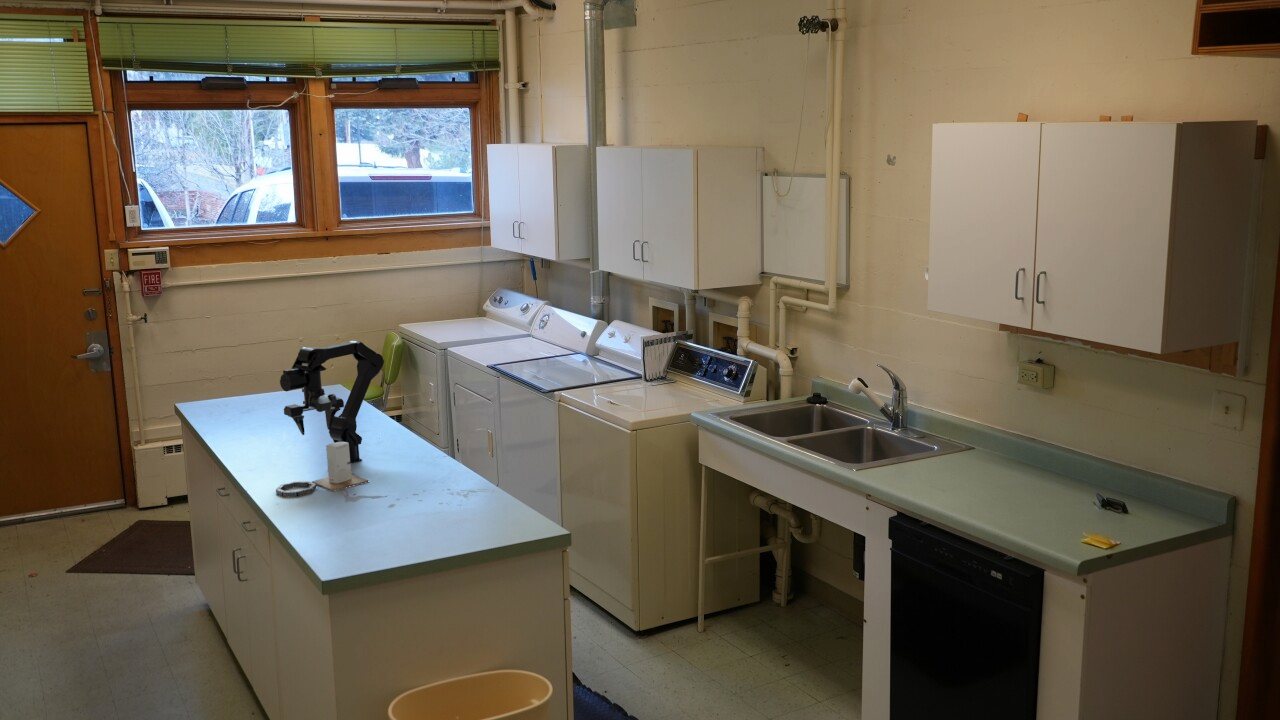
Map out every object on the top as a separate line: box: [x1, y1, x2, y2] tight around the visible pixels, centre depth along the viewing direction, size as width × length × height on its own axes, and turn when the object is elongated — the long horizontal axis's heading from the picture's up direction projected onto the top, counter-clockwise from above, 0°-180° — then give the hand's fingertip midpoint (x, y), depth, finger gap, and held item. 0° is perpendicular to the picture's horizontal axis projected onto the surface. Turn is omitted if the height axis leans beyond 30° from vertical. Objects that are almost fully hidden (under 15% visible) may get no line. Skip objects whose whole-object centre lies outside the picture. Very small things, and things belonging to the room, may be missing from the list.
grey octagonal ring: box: [275, 480, 317, 498], centre depth 344 cm, size 11×11×2 cm
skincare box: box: [325, 441, 352, 484], centre depth 351 cm, size 6×4×12 cm
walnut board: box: [311, 472, 370, 492], centre depth 352 cm, size 13×13×1 cm
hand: (316, 432), depth 364 cm, fingers open, 9 cm apart
